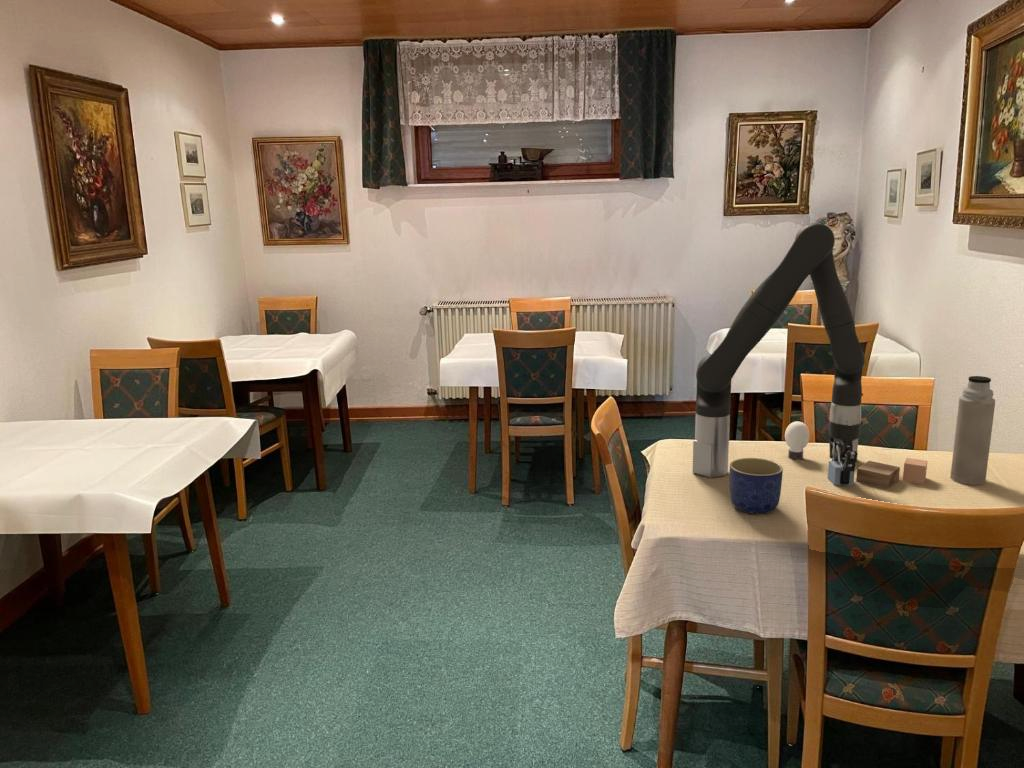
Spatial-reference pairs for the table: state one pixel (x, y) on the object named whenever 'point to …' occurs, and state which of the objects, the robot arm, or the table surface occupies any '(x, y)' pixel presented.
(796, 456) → the light bulb
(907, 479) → the terracotta cube
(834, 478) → the blue cube
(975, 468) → the thermos bottle
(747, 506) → the planter
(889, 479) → the walnut block
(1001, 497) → the table surface
